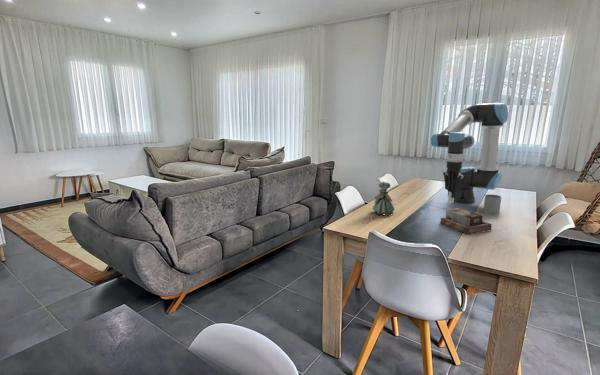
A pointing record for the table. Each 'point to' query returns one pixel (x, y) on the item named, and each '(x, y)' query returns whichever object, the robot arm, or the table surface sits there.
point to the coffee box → (464, 217)
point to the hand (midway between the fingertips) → (450, 202)
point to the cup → (492, 204)
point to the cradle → (465, 229)
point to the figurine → (383, 200)
